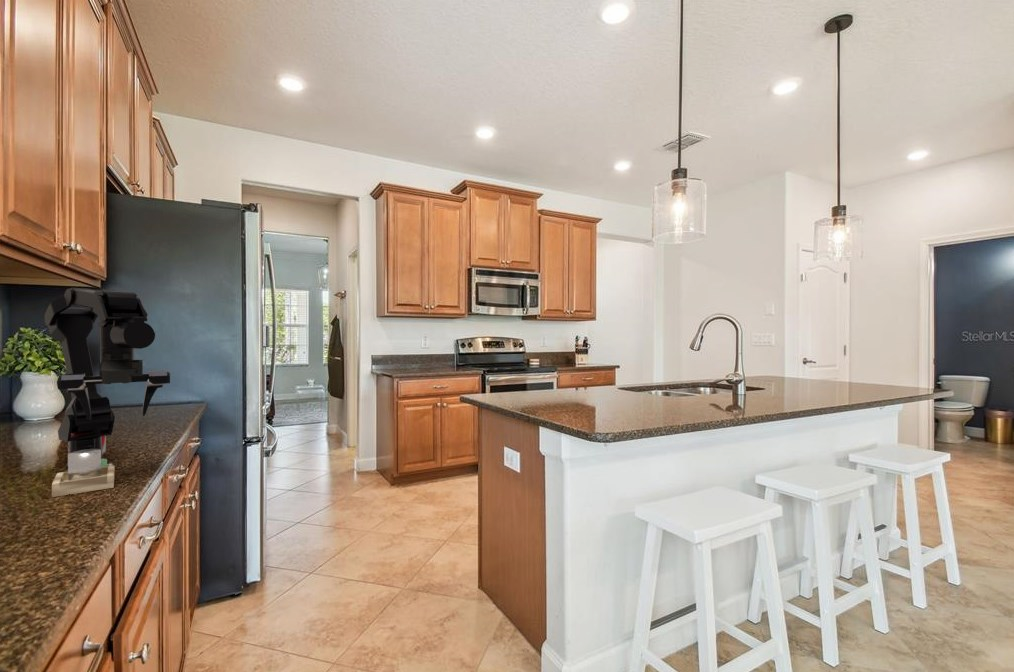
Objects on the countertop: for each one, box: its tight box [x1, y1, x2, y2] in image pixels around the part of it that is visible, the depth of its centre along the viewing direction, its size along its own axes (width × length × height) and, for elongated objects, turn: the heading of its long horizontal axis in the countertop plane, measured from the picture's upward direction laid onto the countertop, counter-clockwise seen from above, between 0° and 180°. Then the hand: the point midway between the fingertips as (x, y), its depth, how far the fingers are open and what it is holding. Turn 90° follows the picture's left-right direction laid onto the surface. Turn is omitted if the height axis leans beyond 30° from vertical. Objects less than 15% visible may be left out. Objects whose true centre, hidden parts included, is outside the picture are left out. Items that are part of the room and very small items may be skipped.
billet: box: [67, 449, 101, 481], centre depth 95 cm, size 5×5×6 cm
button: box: [101, 458, 108, 467], centre depth 102 cm, size 2×2×3 cm
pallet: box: [51, 464, 115, 498], centre depth 95 cm, size 9×9×2 cm
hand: (117, 417), depth 103 cm, fingers open, 9 cm apart
